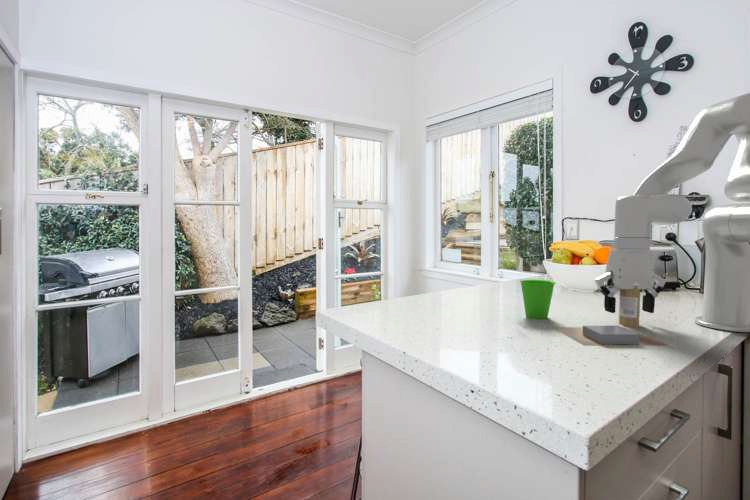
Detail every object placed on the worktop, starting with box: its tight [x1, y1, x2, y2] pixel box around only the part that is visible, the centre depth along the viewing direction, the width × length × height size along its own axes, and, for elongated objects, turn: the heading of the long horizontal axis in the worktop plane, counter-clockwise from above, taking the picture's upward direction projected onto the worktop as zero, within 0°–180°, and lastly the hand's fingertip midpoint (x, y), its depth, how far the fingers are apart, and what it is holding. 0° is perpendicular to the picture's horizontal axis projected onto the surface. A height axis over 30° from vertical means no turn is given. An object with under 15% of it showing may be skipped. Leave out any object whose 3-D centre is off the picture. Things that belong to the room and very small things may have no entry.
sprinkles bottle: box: [618, 282, 641, 327], centre depth 94 cm, size 5×5×13 cm
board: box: [552, 326, 670, 346], centre depth 84 cm, size 18×14×1 cm
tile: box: [582, 325, 640, 344], centre depth 81 cm, size 2×7×8 cm
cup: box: [519, 279, 556, 320], centre depth 102 cm, size 9×9×11 cm
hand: (628, 311), depth 94 cm, fingers open, 9 cm apart
